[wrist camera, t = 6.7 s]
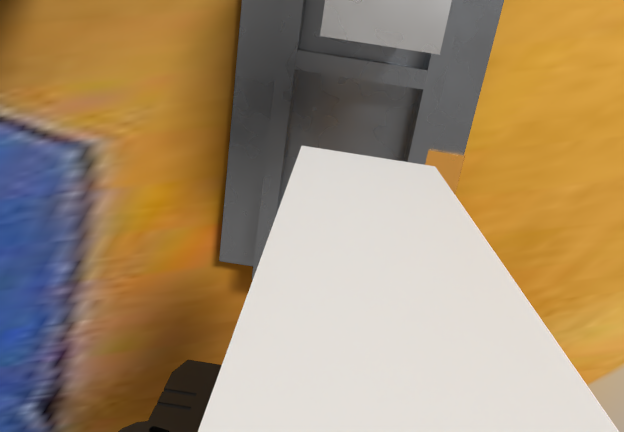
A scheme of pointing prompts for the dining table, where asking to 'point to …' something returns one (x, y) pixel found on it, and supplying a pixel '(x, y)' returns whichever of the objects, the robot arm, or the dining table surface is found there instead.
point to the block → (389, 318)
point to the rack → (347, 94)
